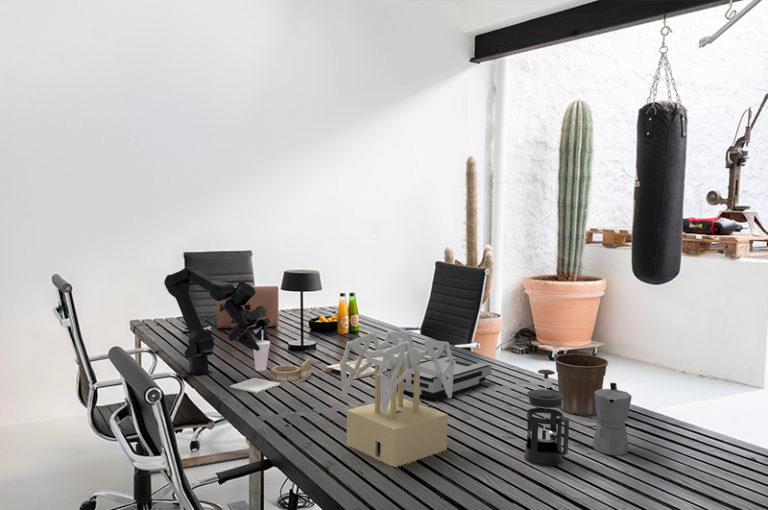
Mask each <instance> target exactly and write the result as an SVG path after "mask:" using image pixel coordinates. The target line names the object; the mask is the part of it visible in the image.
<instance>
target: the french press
mask: <svg viewBox="0 0 768 510" xmlns="http://www.w3.org/2000/svg"><path fill="white" fill-rule="evenodd" d="M537 373H538V374H541V375H543V377H544V378H543V379H545V380H544V381H545V384H544V389H532V390H529V391H528V392H527V394H526V395H527V397H528V402H529V404H531V405H532V406H535V407H533V408H530V409H527V411H526V419H527V429H526V430H527V432H526V443H525V448H524V449H525V451H524V452H525V453H524V460H525V459H526V460H527V462H528V463H529V462H530V464H532V463H533V465H534V464H537V465H536V466H538V465H542V466H541V467H547V466H549V467H555V466H554V465H557V466H559V465H561V464H562V463H563V457H562V456H566V455H568V453H569V433H570V432H569V431H570V430H569V429H570V420H569V419H567V418H564V414H563V412H561V411H560V410H556V409H554V408H560V407H559V406H561V405H562V399H563V398H564V395H563V394H561V393H559V391H555V390H551V389H547V385H548V383H547V382H548V381H547V379H549V375H550V376H551V375H555V374H556V372H555V371H554V370H551V369H539V370H537ZM533 414H543V417H541V418H540V417H535V416H534V415H533ZM547 414H549V415H550V418H546V415H547ZM539 424H541V425H543V428H539ZM546 425H549V427H550V428H549V429H546ZM563 425H564V426H563ZM562 427H563V428H562ZM562 430H563V447H562ZM562 448H563V449H562ZM526 460H525V461H526ZM561 462H562V463H561ZM560 463H561V464H560ZM558 464H559V465H558Z"/></svg>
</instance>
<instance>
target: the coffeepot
mask: <svg viewBox="0 0 768 510" xmlns="http://www.w3.org/2000/svg"><path fill="white" fill-rule="evenodd" d="M609 385H610V386H609V387H610V388H602V389H599V390H597V391H595V392H594V395H595V404H596V413H597V414H596V417H597V418H598V423H597V424H596V426H595V431H594V435H593V439H592V443H591V445H592V448H593V449H594V450H595V451H596V452H597V453H600V454H605V455H608V456H623V455H625V454H627V453H628V452H629V451H630V450H629V441H628V439H629V438H628V432H627V427H626V425H625V424H626V421H627V420H628V417H629V412H630V406H631V402H632V397H633V395H631V394H630V393H628V392H627V391H625V390H620V389H618V387H617V383H616V382H610V383H609Z"/></svg>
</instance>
